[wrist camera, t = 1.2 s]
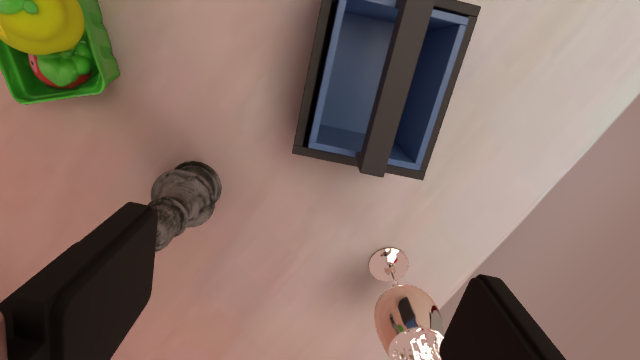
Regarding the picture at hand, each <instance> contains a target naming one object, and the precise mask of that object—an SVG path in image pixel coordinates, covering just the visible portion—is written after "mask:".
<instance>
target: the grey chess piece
mask: <svg viewBox="0 0 640 360" xmlns="http://www.w3.org/2000/svg"><path fill="white" fill-rule="evenodd" d="M220 194H221V182H220V179H219V177H218V175H217V174H216V173H215V171H214V170H213V169H212V168H210V167H209V166H207V165H205V164H203V163H201V162H195V161H191V162H185V163H182V164H180V165H179V166H177V167H176V168H175V169H174V170H171V171H168V172H165V173H164V174H162V175H161V176H159V177H158V178H157V180H156V181H155V182H154V184H153V187H152V190H151V200H152V201H151V202H150V203H149V204H148V206H151V207H152V210H153V212H156V213H158V226H157V237H156V247H155V252H157V251H160V250H162V249H163V248H165V247H166V246H167V245H168V244H169V242H170V241H171V240H172V238H173V237H175V236H178V235H180V234H181V233H183V232H184V231H185V229H186V228H190V227H196V226H199V225H201V224H203V223H204V222H206V221H207V220H208V219H209V218H210V216H211V215H212V213H213V211H214V208H215V203H216V201H217V200H218V199H219V197H220Z"/></svg>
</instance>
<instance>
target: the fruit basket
mask: <svg viewBox="0 0 640 360" xmlns="http://www.w3.org/2000/svg"><path fill="white" fill-rule="evenodd" d="M111 52H112V51H111V44H110V41H109V37H108V34H107V31H106V29H105V27H104V25H103V24H102V15H101V11H100V8H99V5H98V2H97V0H0V68H1V71H2V73H3V75H4V78H5V80H6V83H7V86H8V88H9V90H10V93H11V95H12V97H13V98H14V99H15V100H16V101H17V102H19V103H21V104H26V105H28V104H34V103H40V102H46V101H52V100H59V99H66V98H74V97H82V96H90V95H98V94H100V93H101V92H103V90H104V89H105V88H106V87H107V85H108V84H109V83H110V82H112V81H113V80H114V79H116V78H117V77H118V76H119V75H120V73H119V69H118V66H117V63H116V60H115V58H114V57H113V55H112V54H111Z"/></svg>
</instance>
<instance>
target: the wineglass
mask: <svg viewBox="0 0 640 360" xmlns="http://www.w3.org/2000/svg"><path fill="white" fill-rule="evenodd" d="M407 269H408V259H407V257H406V255H405V254H404V253H403V252H402V251H401V250H399V249H396V248H384V249H381V250H379V251H377V252H376V253H374V255H373V256H372V257H371V259H370V261H369V271H370V273H371V275H372V276H373V277H374V278H376V279H377V280H379V281H383V282H392V287H391V288H389V289H387V290H386V291H385V292H384V293H383V294H382V295H381V296H380V297H379V299H378V301H377V303H376V305H375V310H374V322H375V327H376V331H377V334H378V337H379V339H380V341H381V344H382V346H383V348H384V349H385V351H386V353H387V355H388V356H389V358H390V360H441V358H440V353H439V348H440V344H441V342H442V340H443V337H444V335H445V333H444V327H443V322H442V319H441V315H440V313H439V310H438V308H437V306H436V304H435V302H434V301H433V300H432V298H431V297H430V296H429V295H428V294H427V293H426V292H425V291H423V290H422V289H420V288H418V287H416V286H413V285H406V284H404V285H398V283H397V281H396V280H398V279H399V278H401V277H402V276H403V275H404V274H405V273H406V271H407Z"/></svg>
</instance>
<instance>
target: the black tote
mask: <svg viewBox="0 0 640 360" xmlns="http://www.w3.org/2000/svg"><path fill="white" fill-rule="evenodd" d="M336 1H337V0H322V3H321V8H320V13H319V18H318V23H317V28H316V33H315V38H314V43H313V49H312V54H311V59H310V64H309V69H308V74H307V79H306V84H305V89H304V94H303V99H302V105H301V110H300V115H299V120H298V125H297V130H296V135H295V140H294V145H293V150H292V153H293V154H298V155H303V156H308V157H312V158H317V159H322V160H327V161H332V162H337V163H342V164H346V165H351V166H356V167H358V166H357V165H358V162H357V160H356V158H355V157H351V156H346V155H341V154H336V153H331V152H327V151H322V150H317V149H312V148H308V144H309V132H310V124H311V119H312V114H313V109H314V104H315V100H316V95H317V90H318V85H319V80H320V76H321V71H322V66H323V61H324V57H325V52H326V47H327V42H328V37H329V33H330V28H331V23H332V18H333V13H334V9H335V4H336ZM433 9H436V10H440V11H444V12H448V13H452V14H456V15H460V16H464V17H468V18H469V21H468V24H467V27H466V30H465V33H464V36H463V39H462V42H461V45H460V49H459V52H458V55H457V58H456V61H455V64H454V67H453V70H452V73H451V76H450V79H449V82H448V85H447V88H446V91H445V94H444V97H443V100H442V103H441V106H440V109H439V112H438V115H437V118H436V121H435V124H434V127H433V130H432V134H431V137H430V140H429V143H428V146H427V149H426V152H425V155H424V158H423V161H422V164H421V167H420V170H419V171H418V170H413V169H408V168H404V167H399V166H394V165H389V164H387V167H386V170H385V173H390V174H395V175H400V176H405V177H410V178H415V179H419V180H423V179H424V176H425V172H426V170H427V167H428V164H429V161H430V158H431V155H432V152H433V149H434V146H435V143H436V140H437V137H438V134H439V131H440V128H441V125H442V122H443V119H444V116H445V113H446V110H447V107H448V104H449V101H450V98H451V95H452V92H453V89H454V86H455V83H456V80H457V77H458V74H459V71H460V68H461V65H462V63H463V60H464V57H465V54H466V51H467V48H468V45H469V42H470V39H471V36H472V33H473V30H474V27H475V24H476V21H477V17H478V15H479V12H480V9H481V7H480V6H477V5H473V4H469V3H465V2H461V1H457V0H435V4H434V7H433Z"/></svg>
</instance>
